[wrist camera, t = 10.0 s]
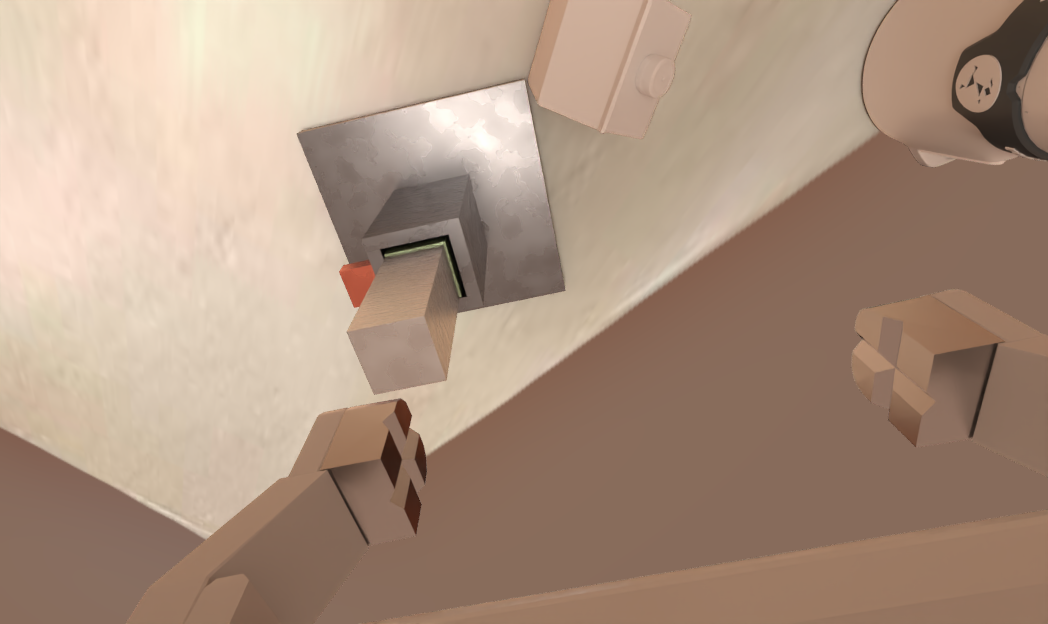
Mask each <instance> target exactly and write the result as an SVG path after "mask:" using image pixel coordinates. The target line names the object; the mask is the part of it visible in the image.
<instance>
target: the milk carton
mask: <svg viewBox="0 0 1048 624" xmlns="http://www.w3.org/2000/svg"><path fill="white" fill-rule="evenodd" d="M690 20H691V14H689V13H687V12H685V11H684V10H682V9H680V8H679V7H677V6H675V5H673V4H672V3H670V2H668V1H667V0H550V4H549V7H548V11H547V14H546V18H545V21H544V25H543V28H542V32H541V35H540V39H539V42H538V46H537V49H536V53H535V56H534V60H533V63H532V67H531V70H530V74H529V77H528V84H529V87H530V89H531V91H532V93H533V95H534V97H535V99H536V101H537V103H538V105H539V106H541V107H544V108H546V109H549V110H551V111H553V112H556V113H558V114H561V115H563V116H565V117H568V118H570V119H572V120H575V121H577V122H580V123H582V124H584V125H587V126H589V127H592V128H594V129H596V130H598V131H599V132H600V133H602V134H604V133H605V132H608V133H613V134H618V135H623V136H628V137H633V138H638V139H643V137H644V135H645V133H646V131H647V128H648V126H649V123H650V121H651V119H652V116H653V114H654V111H655V109H656V106H657V104H658V101H659V99H660V97H662V96H663V95H665V93H666V92H667V91H668V89H669V88H670V86H671V84H672V81H673V78H674V75H675V64H674V61H675V59H676V56H677V54H678V51H679V49H680V46H681V44H682V41H683V39H684V36H685V34H686V31H687V28H688V26H689V23H690Z"/></svg>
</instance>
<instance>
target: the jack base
mask: <svg viewBox="0 0 1048 624" xmlns="http://www.w3.org/2000/svg"><path fill="white" fill-rule="evenodd" d="M297 136H298V138H299V141H300V143H301V146H302V148H303V151H304V153H305V156H306V158H307V161H308V163H309V166H310V168H311V170H312V173H313V175H314V178H315V180H316V183H317V185H318V188H319V190H320V193H321V195H322V198H323V200H324V202H325V205H326V207H327V210H328V212H329V215H330V217H331V220H332V222H333V225H334V227H335V230H336V232H337V234H338V237H339V239H340V242H341V244H342V247H343V249H344V252H345V254H346V257H347V259H348V262H349V264H347V265H343V267H342V268H341V270H340V271H339V273H340V275H341V277H342V280H343V282H344V284H345V287H346V289H347V292H348V294H349V296H350V299H351V301H352V304H353V306H354V308H355V307H360V305H361V303H362V301H363V299H364V297H365V295H366V293H367V291H368V289H369V288H370V286H371V284H372V282H373V280H374V278H375V276H376V274H377V272H378V270H379V268H380V266H381V264H382V262H383V260H384V258H385V256H384V254H385V252H386V250H387V249H390V247H393V246H397V245H402V244H406V243H411V242H416V241H420V240H425V239H429V238H434V237H439V236H443V235H448V234H449V238H450V241H451V244H452V248H453V251H454V254H455V258H456V261H457V265H458V268H459V271H460V275H461V278H462V286H461V287H462V290H463V291H462V297H460V299H459V305H458V311H457V313H460V312H464V311H469V310H474V309H479V308H484V307H489V306H494V305H498V304H503V303H508V302H513V301H518V300H523V299H528V298H533V297H537V296H542V295H547V294H552V293H557V292H562V291H565V286H564V281H563V276H562V271H561V265H560V260H559V255H558V250H557V245H556V240H555V234H554V229H553V224H552V219H551V214H550V209H549V203H548V198H547V193H546V188H545V183H544V178H543V173H542V167H541V162H540V157H539V152H538V147H537V142H536V136H535V131H534V126H533V121H532V116H531V111H530V105H529V100H528V95H527V90H526V85H525V80H524V79H520V80H516V81H511V82H507V83H503V84H499V85H494V86H490V87H486V88H482V89H477V90H473V91H469V92H465V93H460V94H456V95H452V96H448V97H443V98H439V99H435V100H431V101H426V102H422V103H418V104H414V105H409V106H405V107H401V108H397V109H392V110H388V111H384V112H379V113H375V114H371V115H367V116H362V117H358V118H354V119H350V120H345V121H341V122H337V123H333V124H328V125H324V126H320V127H316V128H311V129H307V130H303V131H301V132H299V133H297Z"/></svg>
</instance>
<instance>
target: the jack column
mask: <svg viewBox="0 0 1048 624" xmlns="http://www.w3.org/2000/svg"><path fill="white" fill-rule="evenodd" d="M384 256H385V258H384V260H383V262H382V264H381V266H380V268H379V270H378V272H377V274H376V276H375V278H374V280H373V282H372V284H371V286H370V288H369V289H368V291H367V293H366V295H365V297H364V299H363V301H362V303H361V305H360V307H359V309H358V311H357V313H356V315H355V317H354V319H353V320H352V322H351V324H350V326H349V328H348V330H347V334H348V336H349V339H350V341H351V343H352V345H353V348H354V350H355V352H356V355H357V357H358V359H359V361H360V364H361V366H362V368H363V370H364V373H365V375H366V377H367V380H368V382H369V384H370V386H371V389H372V391H373V393H374V395H375V394H380V393H385V392H390V391H395V390H400V389H406V388H411V387H416V386H421V385H426V384H431V383H436V382H441V381H446V380H447V374H448V368H449V362H450V355H451V349H452V343H453V337H454V330H455V324H456V318H457V311H458V305H459V299H460V297H462V291H463V290H462V287H461V286H462V278H461V275H460V271H459V268H458V265H457V261H456V258H455V254H454V251H453V248H452V244H451V241H450V238H449V234H448V235H443V236H439V237H434V238H429V239H425V240H420V241H416V242H411V243H406V244H402V245H397V246H393V247H390V249H387V250H386V252H385V254H384Z"/></svg>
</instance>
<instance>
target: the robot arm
mask: <svg viewBox="0 0 1048 624" xmlns="http://www.w3.org/2000/svg"><path fill="white" fill-rule="evenodd" d="M863 97H864V102H865V106H866V109H867V112H868V114H869V116H870V118H871V120H872V121H873V123H874V124H875V125H876V126H877V128H878V129H879V130H881V131H882V132H883V133H884V134H886V135H887V136H889V137H890V138H892V139H895V140H897V141H899V142H901V143H903V144H904V145H906V146H907V147H908V148H909V150H910V152H911V153H912V155H913V156H914V158H915V159H916V161H917V162H918V163H919V164H920V165H922V166H927V167H938V166H941V165H943V164H946V163H948V162H951V161H954V160H956V159H961V160H967V161H973V162H978V163H984V164H989V165H1001V164H1003V163H1004V162H1005V161H1006V160H1010V159H1014V158H1016V157H1019V156H1020V157H1024V158H1028V159H1034V160H1039V161H1040V160H1041V161H1048V0H898V1H897V3H896V4H895V5H894V6H893V7H892V9H891V10H890V11H889V13H888V14H887V16H886V17H885V19H884V20H883V22H882V23H881V25H880V27H879V29H878V30H877V32H876V34H875V36H874V39H873V41H872V43H871V46H870V48H869V51H868V54H867V58H866V62H865V67H864V73H863ZM855 332H856V333H857V334H858V335H859V336H860V337H861V338H862V340H861V342H860V343H859V344H858V345H857V347H856V348H855V349H854V350H853V351H852V362H851V369H852V372H853V376H854V379H855V383H856V384H857V386H858V388H859V390H860V391H861V393H862V394H863V395H864V396H865V397H866V398H867V399H868V400H869V401H870V402H871V403H873V404H875V405H878V406H881V407H883V408H886V409H888V410H889V414H888V421H889V422H890V423H891V424H892V425H893V426H895V427H896V428H897V430H898V431H900V432H901V433H902V435H904V436H905V437H906V438H907V439H908V440H909V441H910V442H911V443H912V444H913V445H914V446H915V447H923V446H930V445H936V444H943V443H950V442H955V441H963V440H969V439H972V442H974V443H976V444H978V445H980V446H982V447H984V448H986V449H988V450H990V451H993V452H995V453H997V454H999V455H1001V456H1003V457H1005V458H1008V459H1010V460H1012V461H1014V462H1016V463H1018V464H1020V465H1022V466H1024V467H1026V468H1029V469H1031V470H1033V471H1035V472H1037V473H1039V474H1041V475H1043V476H1046V477H1048V334H1047V335H1043V334H1042V333H1040V332H1038V331H1036V330H1035V329H1033V328H1031V327H1029V326H1027V325H1026V324H1024V323H1022V322H1020V321H1018V320H1017V319H1015V318H1013V317H1011V316H1009V315H1008V314H1006V313H1004V312H1002V311H1000V310H998V309H997V308H995V307H993V306H991V305H989V304H988V303H986V302H984V301H982V300H980V299H978V298H977V297H975V296H973V295H971V294H970V293H968V292H966V291H964V290H957V289H950V290H946V291H941V292H937V293H933V294H928V295H924V296H921V297H917V298H913V299H908V300H903V301H898V302H894V303H889V304H884V305H880V306H875V307H869V308H865V309H861V310H860V312H859V314H858V315H857V317H856V323H855ZM411 418H412V415H411V412H410V410H409V408H408V406H407V403H406V402H405V401H404V400H402V399H401V398H400V399H394V400H389V401H383V402H377V403H371V404H366V405H360V406H354V407H350V408H343V409H338V410H333V411H328V412H324V413H322V414H320V415H319V416H318V417H317V419H316V421H315V423H314V425H313V427H312V429H311V431H310V433H309V435H308V437H307V439H306V441H305V443H304V446H303V448H302V450H301V452H300V454H299V456H298V458H297V460H296V462H295V464H294V466H293V468H292V470H291V472H290V474H289V476H288V477H286V478H281V479H279V480H278V481H276V482H275V483H274V484H273V485H272V486H270V487H269V488H268V489H267V490H266V491H264V492H263V493H262V494H261V495H260V496H258V497H257V498H256V499H255V500H254V501H252V502H251V503H250V504H249V505H247V506H246V507H245V508H244V509H243V510H241V511H240V512H239V513H238V514H237V515H235V516H234V517H233V518H232V519H231V520H229V521H228V522H227V523H226V524H225V525H223V526H222V527H221V528H220V529H219V530H217V531H216V532H215V533H214V534H213V535H211V536H210V537H209V538H208V539H207V540H205V541H204V542H203V543H202V544H201V545H199V546H198V547H197V548H196V549H194V551H192V552H191V553H190V554H188V555H187V556H186V557H185V558H184V559H182V560H181V561H180V562H179V563H178V564H177V565H175V566H174V567H173V568H172V569H170V570H169V571H168V572H167V573H166V574H164V575H163V576H162V577H161V578H160V579H158V580H157V581H156V582H155V583H154V584H152V585H151V586H150V587H149V588H148V589H147V591H146V592H145V594H144V595H143V597H142V598H141V600H140V601H139V603H138V605H137V606H136V608H135V609H134V611H133V612H132V614H131V616H130V617H129V619H128V620H127V622H126V624H314V623H315V621H316V620H317V619H318V617H319V616H320V615H321V613H322V612H323V611H324V609H325V608H326V607H327V605H328V604H329V602H330V601H331V600H332V598H333V597H334V595H335V594H336V593H337V592H338V590H339V589H340V587H341V586H342V585H343V583H344V582H345V581H346V579H347V578H348V576H349V575H350V573H351V572H352V571H353V570H354V568H355V567H356V565H357V564H358V563H359V561H360V560H361V559H362V557H363V556H364V554H365V553H366V552H367V551H368V549H369V547H368V546H370V545H375V544H380V543H384V542H389V541H394V540H399V539H404V538H409V537H414V536H416V534H417V528H418V523H419V517H420V511H421V505H422V504H421V502H420V500H419V497H418V495H417V493H418V492H419V491H420V490H421V489H422V488H423V486H424V485H425V481H426V475H427V464H426V454H425V449H424V445H423V442H422V440H421V437H420V434H418V433H417V432H415V431H414V430H412V429H411V428H409V427H410V422H411ZM362 624H1048V509H1045V510H1040V511H1033V512H1027V513H1022V514H1016V515H1010V516H1003V517H997V518H991V519H985V520H980V521H973V522H967V523H961V524H955V525H949V526H943V527H937V528H931V529H925V530H919V531H913V532H907V533H901V534H895V535H889V536H883V537H877V538H871V539H865V540H859V541H853V542H847V543H841V544H834V545H828V546H822V547H816V548H810V549H805V550H799V551H792V552H787V553H780V554H774V555H768V556H763V557H757V558H750V559H744V560H738V561H733V562H727V563H721V564H715V565H709V566H703V567H697V568H691V569H685V570H679V571H673V572H667V573H661V574H655V575H649V576H643V577H637V578H631V579H625V580H619V581H613V582H607V583H601V584H596V585H589V586H583V587H577V588H571V589H565V590H559V591H553V592H547V593H541V594H535V595H529V596H523V597H517V598H511V599H505V600H499V601H493V602H487V603H481V604H475V605H470V606H463V607H458V608H451V609H445V610H439V611H433V612H427V613H422V614H415V615H409V616H404V617H397V618H391V619H385V620H379V621H373V622H367V623H362Z"/></svg>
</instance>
